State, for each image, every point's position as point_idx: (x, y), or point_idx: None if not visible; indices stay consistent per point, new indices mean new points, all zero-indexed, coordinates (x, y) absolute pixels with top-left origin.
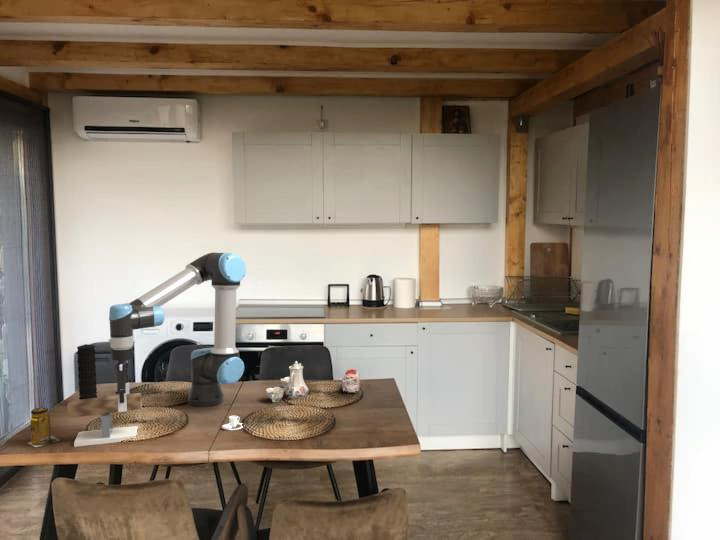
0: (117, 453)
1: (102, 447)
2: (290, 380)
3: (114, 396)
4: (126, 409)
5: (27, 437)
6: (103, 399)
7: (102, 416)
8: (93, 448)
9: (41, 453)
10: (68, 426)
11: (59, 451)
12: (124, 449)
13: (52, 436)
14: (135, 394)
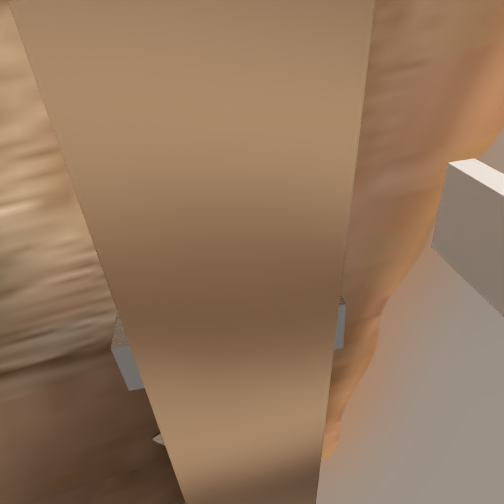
0: (490, 108)
1: (359, 214)
2: None
3: (208, 437)
4: (491, 168)
5: (156, 487)
6: (298, 480)
7: (342, 339)
8: (357, 251)
9: (338, 399)
10: (16, 436)
11: (340, 359)
12: (446, 78)
13: (159, 436)
14: (191, 150)
